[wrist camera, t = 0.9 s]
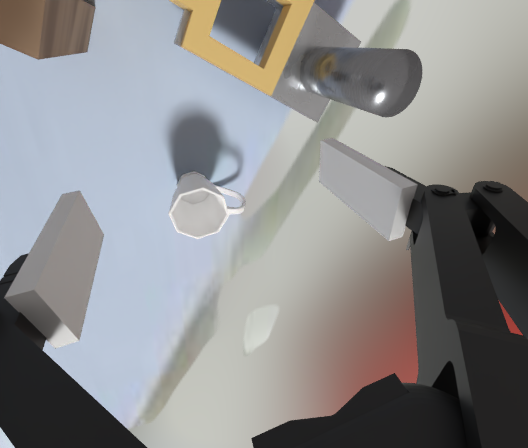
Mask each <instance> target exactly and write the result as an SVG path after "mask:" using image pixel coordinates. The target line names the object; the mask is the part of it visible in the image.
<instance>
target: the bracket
mask: <svg viewBox="0 0 528 448" xmlns="http://www.w3.org/2000/svg"><path fill="white" fill-rule="evenodd" d="M169 1H171V2H172V3H174V4H176V5H177V6H179V7H180V8H182V9H186V10H188V11H190V12H191V13H190V16H189V19H188V23H187V26H186V29H185V33H184V36H183V39H182V43H181V47H182V48H184V49H186V50H188V51H190V52H191V53H193V54H195V55H197V56H199V57H200V58H202V59H204V60H206V61H208V62H209V63H211V64H213V65H215V66H217V67H218V68H220V69H222V70H224V71H226V72H227V73H229V74H231V75H233V76H235V77H236V78H238V79H240V80H242V81H244V82H246V83H247V84H249V85H251V86H253V87H255V88H256V89H258V90H260V91H262V92H264V93H265V94H267V95H270V96H271V95H272V93H273V91H274V89H275V87H276V84H277V82H278V80H279V78H280V76H281V73H282V71H283V69H284V67H285V65H286V62H287V60H288V58H289V56H290V54H291V51H292V49H293V47H294V45H295V42H296V40H297V38H298V36H299V34H300V31H301V29H302V27H303V25H304V23H305V20H306V18H307V16H308V14H309V12H310V9H311V7H312V5H313V3H314V1H315V0H276V1H278V2H279V3H280V4H281V5H283V9H282V11H281V14H280V16H279V18H278V21H277V23H276V26H275V28H274V30H273V33H272V35H271V37H270V40H269V42H268V45H267V47H266V49H265V52H264V54H263V57H262V59H261V61H260V64H259V66H258V65H256V64H255V63H253V62H251V61H250V60H248V59H246V58H245V57H243V56H241V55H240V54H238V53H236V52H235V51H233V50H231V49H230V48H228V47H226V46H225V45H223V44H221V43H220V42H218V41H216V40H215V39H213V38H211V37H210V36H209V35H210V32H211V29H212V26H213V23H214V20H215V17H216V14H217V11H218V9H219V6H220V3H221V0H169Z"/></svg>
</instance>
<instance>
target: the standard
mask: <svg viewBox="0 0 528 448" xmlns="http://www.w3.org/2000/svg"><path fill="white" fill-rule="evenodd" d="M266 1H267V2H268V3H270V4H271V5H272V6H274V7H275V8H276V10H275V12H274V15H273V17H272V19H271V22H270V24H269V27H268V29H267V32H266V34H265V37H264V39H263V41H262V44H261V46H260V49H259V51H258V54H257V56H256V59H255V61H254V63H255V64H256V65H258V66H259V64H260V61H261V59H262V57H263V54H264V52H265V49H266V47H267V45H268V42H269V40H270V37H271V35H272V33H273V30H274V28H275V26H276V23H277V21H278V18H279V16H280V14H281V11H282V9H283V5H281V4H280V3H279V2H278V1H276V0H266ZM190 13H191V12H190V11H188V10H186V9H184V10H183V13H182V16H181V20H180V23H179V27H178V30H177V34H176V37H175V40H174V44H176V45H178V46H180V47H181V43H182V39H183V36H184V33H185V29H186V26H187V23H188V19H189V16H190ZM360 43H361V41H360V40H358V39H357V38H356V37H355V36H354V35H352V34H351V33H350V32H349V31H348V30H346V29H345V28H344V27H343V26H342V25H341V24H339V23H338V22H337V21H336V20H335V19H333V18H332V17H331V16H330V15H329V14H327V13H326V12H325V11H324V10H323V9H321V8H320V7H319V6H318V5H317V4H315V3H313V5H312V7H311V9H310V12H309V14H308V16H307V18H306V20H305V23H304V25H303V27H302V29H301V31H300V34H299V36H298V38H297V40H296V42H295V45H294V47H293V49H292V51H291V54H290V56H289V58H288V60H287V62H286V65H285V67H284V69H283V71H282V73H281V76H280V78H279V80H278V82H277V84H276V87H275V89H274V91H273V93H272V95H271V96H270V95H268V96H270V97H272V98H274V99H276V100H277V101H279V102H281V103H283V104H285V105H286V106H288V107H290V108H292V109H294V110H296V111H297V112H299V113H301V114H303V115H304V116H307V117H308V118H310V119H312V120H314V121H316V122H318V121H319V119H320V117H321V115H322V114H323V112H324V110H325V108H326V106H327V104H328V102H329V101H330V99H331V100H334V101H337V102H340V103H343V104H346V105H349V106H352V107H355V108H358V109H361V110H364V111H367V112H370V113H373V114H376V115H379V116H382V117H392V116H395V115H397V114H399V113H400V112H402V111H403V110H404V109H405V108H406V107H407V106H408V105H409V104H410V103H411V102H412V100H413V99H414V97H415V96H416V94H417V92H418V89H419V87H420V83H421V79H422V65H421V61H420V59H419V57H418V55H417V54H416V53H415V52H413V51H411V50H408V49H381V48H358V47H359V45H360ZM183 49H184V48H183ZM185 50H186V49H185ZM187 51H188V50H187ZM189 52H190V51H189ZM192 54H193V53H192ZM194 55H195V54H194ZM196 56H197V55H196ZM198 57H199V56H198ZM201 59H202V58H201ZM203 60H204V59H203ZM205 61H206V60H205ZM207 62H208V61H207ZM210 64H211V63H210ZM212 65H213V64H212ZM214 66H215V65H214ZM216 67H217V66H216ZM219 69H220V68H219ZM221 70H222V69H221ZM223 71H224V70H223ZM225 72H226V71H225ZM230 75H231V74H230ZM232 76H233V75H232ZM234 77H235V76H234ZM239 80H240V79H239ZM241 81H242V80H241ZM243 82H244V81H243ZM245 83H246V82H245ZM248 85H249V84H248ZM250 86H251V85H250ZM252 87H253V86H252ZM254 88H255V87H254ZM257 90H258V89H257ZM259 91H260V90H259ZM261 92H262V91H261ZM263 93H264V92H263ZM266 95H267V94H266Z"/></svg>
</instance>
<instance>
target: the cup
mask: <svg viewBox="0 0 528 448" xmlns="http://www.w3.org/2000/svg"><path fill="white" fill-rule="evenodd" d="M220 192H221V193H224V194H227V195H230V196H232V197H235V198H237V199H238V200H239V201H241V202H242V206H240V207H237V208H235V207H227V205H226V202H225V199H224V196H223V195H222V194H221V193H220ZM245 202H246V201H245V198H244V197H243V196H242V195H241V194H239V193H237V192H235V191H233V190H230V189H227V188H224V187H220V186H216V185H214V184H213V183H212V182H210V181H209V180H207V179H206V176H204V175H202V174H200V173H197V172H195V171H193V172H189V173H186V174H183V175H182V176H181V178H180V180H179V182H178V184H177V189H176V191H175V193H174V195H173V198H172V202H171V206H170V210H169V216H170V218H171V220H172V222H173V224H174V227H175V229H176V231H177V232H178V233H181V234H184V235H187V236H190V237H193V238H196V239H199V238H202V237H205V236H208V235H211V234H214V233H217V232H219V231H220V229H221V227H222V226H223V224H224V223H225V221H226V220H227V218H228V217H229V214H239V213H242V212H243V211H244V209H245Z"/></svg>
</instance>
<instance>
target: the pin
mask: <svg viewBox="0 0 528 448" xmlns="http://www.w3.org/2000/svg"><path fill="white" fill-rule="evenodd" d="M94 12H95V7H94V6H92V5H90V4H88V3H87V2H85V1H83V0H0V44H3V45H5V46H7V47H10V48H12V49H14V50H17V51H19V52H22V53H24V54H26V55H29V56H31V57H33V58H36V59H45V58H51V57H58V56H64V55H71V54H78V53H84V52H87V50H88V45H89V39H90V34H91V28H92V23H93V17H94Z"/></svg>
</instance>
